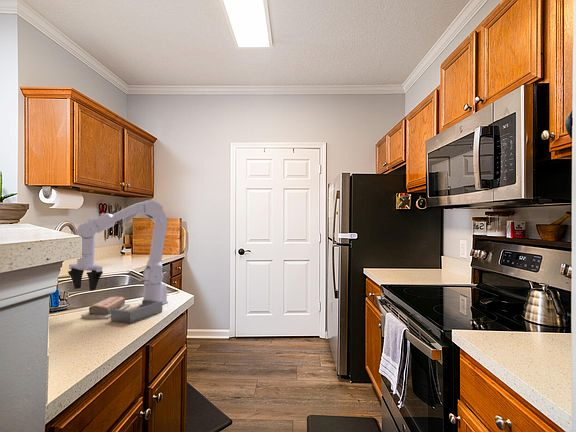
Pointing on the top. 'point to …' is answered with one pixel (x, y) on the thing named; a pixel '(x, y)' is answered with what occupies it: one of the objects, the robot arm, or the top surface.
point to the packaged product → (105, 308)
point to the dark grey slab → (137, 312)
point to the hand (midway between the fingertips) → (85, 289)
